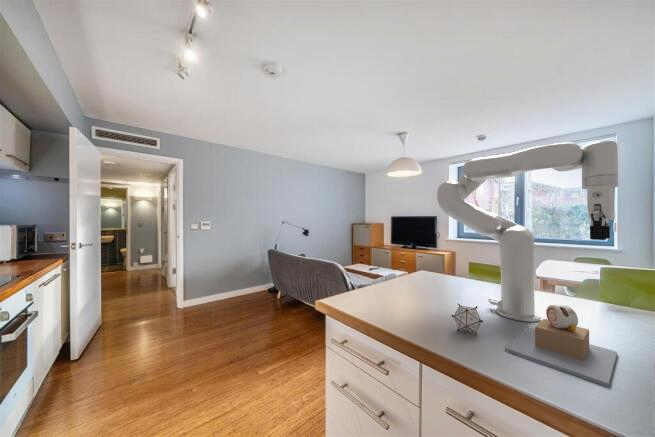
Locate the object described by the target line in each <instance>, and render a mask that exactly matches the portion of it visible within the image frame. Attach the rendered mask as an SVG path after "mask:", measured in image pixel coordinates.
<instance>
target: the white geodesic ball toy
mask: <svg viewBox="0 0 655 437" xmlns="http://www.w3.org/2000/svg"><path fill="white" fill-rule="evenodd" d="M457 305H458V307H457V310H456V311H455V313H454V315H453V314H451V316H450V317H452V318H453V319H454V320H455V322H456V326H457V330H456V332H460V331H464V332H468V333H472V334H473V333H474V334H475V336H478V333H477V332H478V329H479V328H480V325H481V323H482V324H484V321H483V320H482V319H481V317H480V315H479V312H478V310H477V309H478V305H476V306H475V307H471V306H464V305H461V304H460V303H459V302H458V303H457Z"/></svg>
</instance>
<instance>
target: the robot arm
mask: <svg viewBox="0 0 655 437" xmlns="http://www.w3.org/2000/svg"><path fill="white" fill-rule="evenodd" d="M618 148H619V147H618V143H617V141H614V140H603V141H602V140H601V141H594V142H591V143H588V144H585V145H584V146H583V147H581V146H580V145H578V143H577V144H576V143H574V142H561V143H560V142H559V143H553V144H546V145H545V144H544V145H540V146H534V147H531V148H526V149H523V150H518V151H515V152H510V153H505V154H499V155H498V154H497V155H491V156H486V157H477V158H473V159H470V160H467V161H465V163H464V164H463V165H462V175H461V176H460V177H459V178H458V179H457V180H447V181H444V182H443V183H441V184H440V185H439V187H438V188H437V192H436V199H437V203H438V205H439V207H440V208H441V210H442V211H443V212H444V213H445V214H446V215H447V216H449V217H450V218H452V219H453V220H455V221H457V222H459V223H460V224H462V225H463V226H465V227H466V228H468V229H471V230H473V231H474V232H475V233H476V234H479V235H480V236H483V237H489V238H491V239H493V240H494V241H496V242H498V243H499V254H500V255H499V257H500V294H501V296H500V298H498V299H497V298H494V297H489V298H488V303H490V305H493V306H494V305H495V306H496V308H495V310H496V313H497V314H498V315H500V316H502V317H504V318H506V319H511V320H515V321H519V322H520V321H521V322H527V323H529V322H530V323H534V322H540V321H541V315H540V314H539V313H538V312H536V311H535V307H536V306H535V304H536V303H535V299H536V298H535V255H534V253H535V252H534V251H535V236H534V234H533V232H532V231H531V230H529V229H528V228H526V227H525V226H522V225H520V224H518V223H516V222H514V221H513V220H510V219H508V218H506V217H504V216H503V215H500V214H498V213H496V212H491V211H487V210H484V209H482V208H480V207H478V206H476V205H475V204H472V203H471V202H468V201H466V199H467V198H468V197H470V195H471V194H472V193H474V191H476V190H477V189H478V188H480V187H481V185H482V184H484V183H485V182H486V181H487V180H493V179H505V178H512V177H516V176H518V175H521V174H523V173H527V172H531V171H537V170H544V169H553V170H554V171H557V172H568V171H573V170H579V169H581V189H582V190H587V191H586V201H587V202H586V203H587V206H586V207H587V208H586V209H587V217H588V219H589V220H590V225H589V239H590V240H593V241H594V240H595V241H596V240H597V241H598V240H599V241H605V240H607V239H610V237H611V227H610V223H609V222H610V221H609V220H611V221H613V220H614V219H616V217H615V216H616V215H615V214H616V213H615V196H614V195H615V194H614V188H617V187H619V159H618V158H619V150H618Z"/></svg>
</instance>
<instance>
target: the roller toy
mask: <svg viewBox="0 0 655 437" xmlns="http://www.w3.org/2000/svg"><path fill="white" fill-rule="evenodd" d="M545 315H546V319H547V320H548V321H549V322H550V324H551V325H552V326H554V327H555V328H561V329H568V330H569V331H571V332H574V331H575V330H576V327H578V324H579V318H578V315H577V313H576V311H575V310H574V309H573V307H571V306H569V305H564V304H563V305H562V304H550V305H549V306H547V307H546V310H545Z"/></svg>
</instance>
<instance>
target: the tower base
mask: <svg viewBox="0 0 655 437" xmlns="http://www.w3.org/2000/svg"><path fill="white" fill-rule="evenodd" d="M504 351H505V352H507V353H509V354H513V355H516V356H518V357H521V358H525V359H527V360H530V361H532V360H533V361H532V362H535V363H538V364H541V365H544V366H547V367H549V368H552V369H555V370H558V371H561V372H565V373H567V374H570V375H573V376H575V377H579V378H581V379H584V380H586V379H587V381H589V380H590V382H592V381H593V383H595V382H596V383H595V384H599V385H601V384H602V385H601V386H604V387H606V386H607V388H609V387H610V384H611V381H612V376H613V373H614V368H615V365H616V361H617V356H618V351H617V350H613V349H608V348H604V347H601V346H597V345H593V344H590V329H588V328H585V327H581V326H577V327H576V330H575V331H574V332H571V331H569V330H568V329H561V328H555V327H554V326H552V325H551V324H550V322H549V321H548V319H547V318H542V320H540V321H539V322H538V323H537V324H536V325H535V326H534V328H531V327H527V328H526V329H525V330H523V331H522V332H521V333H520V334H519V335H518V336H516V338H514V339H513V340H512V341H511V342H510V343H508V344H507V345H506V346H505V347H504Z"/></svg>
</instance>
